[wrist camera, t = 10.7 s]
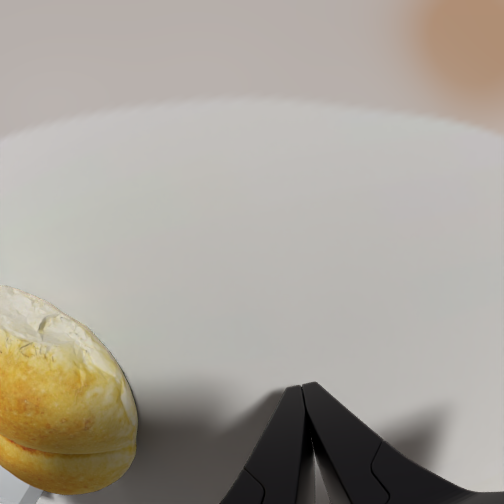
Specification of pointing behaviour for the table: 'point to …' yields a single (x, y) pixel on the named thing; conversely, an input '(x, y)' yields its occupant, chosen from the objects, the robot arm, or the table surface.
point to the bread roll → (60, 400)
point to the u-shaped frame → (16, 490)
